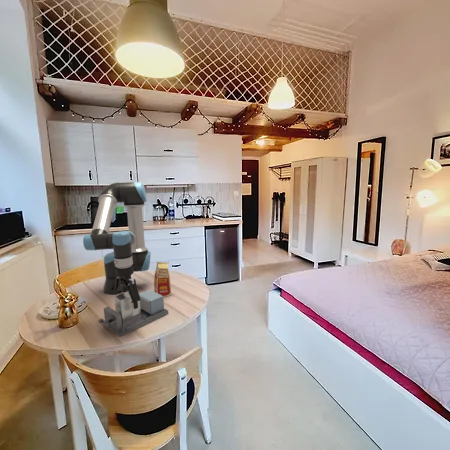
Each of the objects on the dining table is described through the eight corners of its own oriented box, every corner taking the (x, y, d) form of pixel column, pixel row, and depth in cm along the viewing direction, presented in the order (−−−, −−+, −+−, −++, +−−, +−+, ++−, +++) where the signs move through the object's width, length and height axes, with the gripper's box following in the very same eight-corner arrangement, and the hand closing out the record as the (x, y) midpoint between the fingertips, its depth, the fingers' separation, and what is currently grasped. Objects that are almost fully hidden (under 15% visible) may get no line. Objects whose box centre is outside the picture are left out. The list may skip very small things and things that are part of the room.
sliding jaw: (137, 307, 130) (136, 294, 128) (150, 302, 135) (149, 289, 134) (151, 315, 122) (150, 301, 121) (164, 309, 127) (163, 296, 126)
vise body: (95, 327, 116) (93, 309, 115) (150, 303, 138) (149, 289, 136) (111, 340, 106) (109, 322, 104) (168, 313, 127) (167, 297, 126)
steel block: (116, 320, 119) (114, 296, 116) (134, 313, 125) (132, 290, 123) (122, 325, 115) (120, 300, 113) (141, 317, 121) (139, 293, 119)
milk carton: (157, 298, 144) (155, 264, 140) (153, 292, 152) (151, 260, 148) (173, 295, 148) (171, 261, 144) (169, 289, 156) (167, 257, 152)
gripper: (103, 262, 121) (108, 305, 124) (130, 274, 105) (134, 322, 108) (119, 259, 126) (123, 299, 130) (146, 269, 110) (149, 315, 114)
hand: (128, 310), depth 119 cm, fingers open, 12 cm apart
